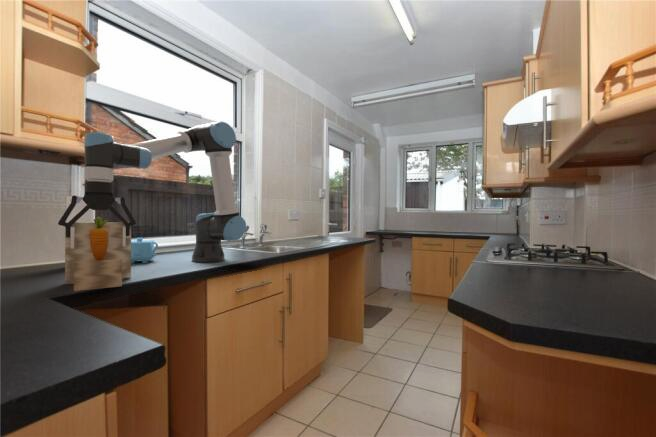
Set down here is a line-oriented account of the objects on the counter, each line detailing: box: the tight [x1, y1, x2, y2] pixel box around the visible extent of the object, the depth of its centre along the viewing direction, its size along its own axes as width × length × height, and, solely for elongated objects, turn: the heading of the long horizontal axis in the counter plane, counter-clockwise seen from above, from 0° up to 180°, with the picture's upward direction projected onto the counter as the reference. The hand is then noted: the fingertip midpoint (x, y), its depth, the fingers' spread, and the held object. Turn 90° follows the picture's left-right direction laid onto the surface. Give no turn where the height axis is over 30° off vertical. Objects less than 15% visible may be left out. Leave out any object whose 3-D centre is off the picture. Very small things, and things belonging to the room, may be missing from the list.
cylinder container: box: [66, 195, 96, 222], centre depth 132 cm, size 9×9×30 cm
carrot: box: [90, 216, 109, 261], centre depth 101 cm, size 5×5×15 cm
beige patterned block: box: [64, 221, 132, 292], centre depth 102 cm, size 18×14×20 cm
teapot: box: [131, 237, 159, 265], centre depth 146 cm, size 16×18×11 cm
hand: (99, 247), depth 101 cm, fingers open, 13 cm apart
